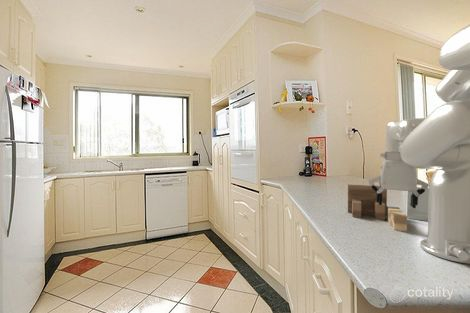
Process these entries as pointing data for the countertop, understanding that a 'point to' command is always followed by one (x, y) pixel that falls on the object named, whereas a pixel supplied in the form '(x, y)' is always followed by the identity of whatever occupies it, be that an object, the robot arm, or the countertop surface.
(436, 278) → the countertop surface
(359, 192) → the wooden stand
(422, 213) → the supplement box
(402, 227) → the light wooden block
